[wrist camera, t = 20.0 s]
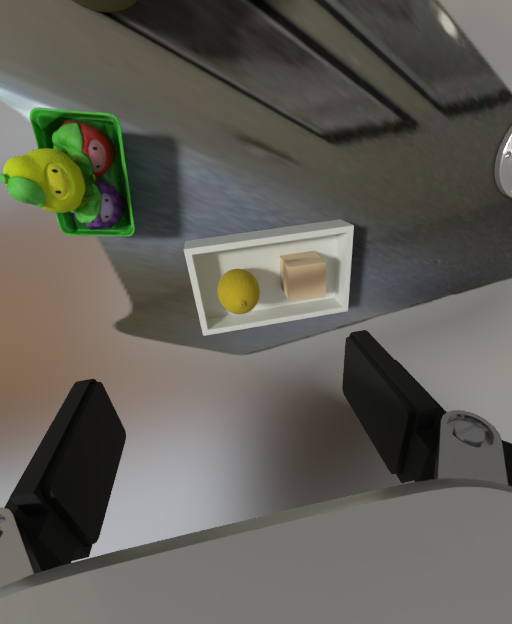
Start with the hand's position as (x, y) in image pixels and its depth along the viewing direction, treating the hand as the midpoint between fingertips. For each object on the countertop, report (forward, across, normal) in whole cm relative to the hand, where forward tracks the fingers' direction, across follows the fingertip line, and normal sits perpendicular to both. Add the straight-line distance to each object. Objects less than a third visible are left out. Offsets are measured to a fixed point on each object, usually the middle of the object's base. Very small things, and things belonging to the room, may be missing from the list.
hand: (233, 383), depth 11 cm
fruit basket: (+31, +12, -7) cm, 34 cm away
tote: (+30, -7, +8) cm, 32 cm away
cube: (+30, -11, +8) cm, 33 cm away
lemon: (+30, -2, +8) cm, 31 cm away
